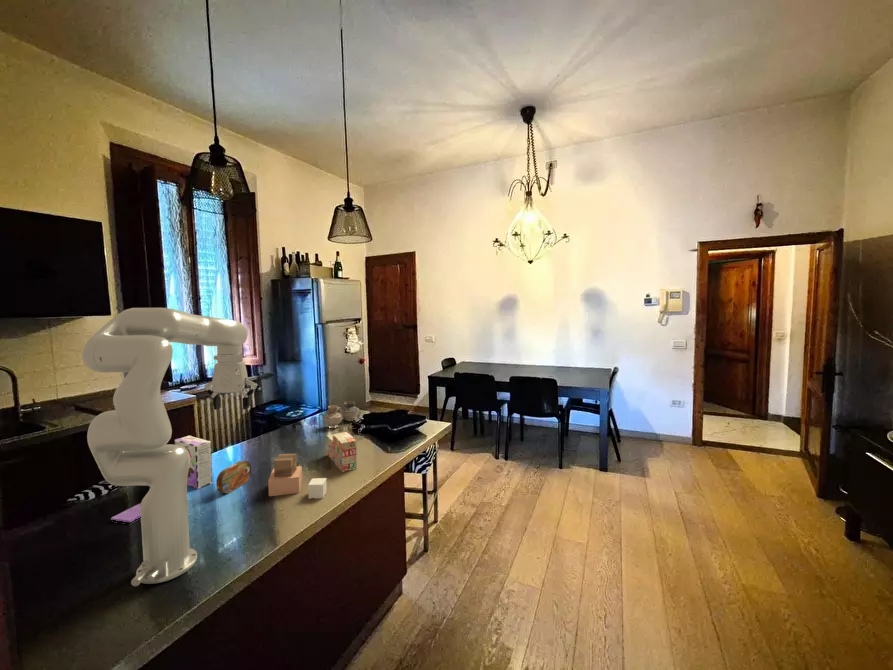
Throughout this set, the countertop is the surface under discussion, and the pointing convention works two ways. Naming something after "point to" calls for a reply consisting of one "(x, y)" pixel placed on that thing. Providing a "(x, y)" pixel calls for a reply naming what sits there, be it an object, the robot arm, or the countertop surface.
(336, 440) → the stack of blocks
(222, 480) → the tin
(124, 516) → the sponges
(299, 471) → the terracotta block
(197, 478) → the candy box
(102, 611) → the countertop surface
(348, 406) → the pottery
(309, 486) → the off-white cube
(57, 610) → the countertop surface
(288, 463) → the walnut cube
